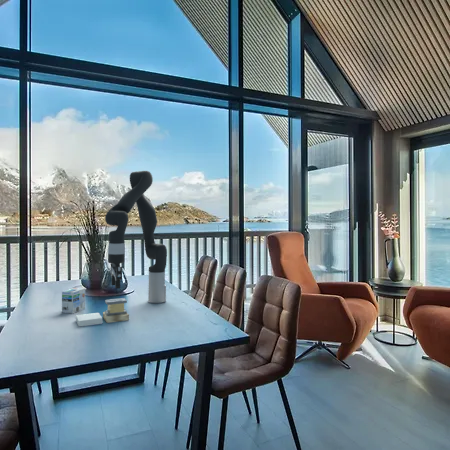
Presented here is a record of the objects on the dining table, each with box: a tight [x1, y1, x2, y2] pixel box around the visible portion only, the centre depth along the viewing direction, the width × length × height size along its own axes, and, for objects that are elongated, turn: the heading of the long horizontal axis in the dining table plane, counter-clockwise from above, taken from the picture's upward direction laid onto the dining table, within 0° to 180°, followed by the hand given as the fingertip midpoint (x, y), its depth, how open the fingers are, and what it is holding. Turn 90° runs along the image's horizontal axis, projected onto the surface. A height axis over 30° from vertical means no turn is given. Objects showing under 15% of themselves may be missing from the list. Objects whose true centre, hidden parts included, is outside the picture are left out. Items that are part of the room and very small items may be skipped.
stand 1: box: [75, 312, 103, 327], centre depth 163 cm, size 10×10×2 cm
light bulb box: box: [61, 287, 86, 314], centre depth 182 cm, size 11×7×11 cm, turn 168°
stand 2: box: [102, 311, 130, 324], centre depth 169 cm, size 10×10×2 cm
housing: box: [104, 297, 128, 316], centre depth 169 cm, size 9×6×6 cm, turn 119°
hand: (115, 286), depth 168 cm, fingers open, 8 cm apart
